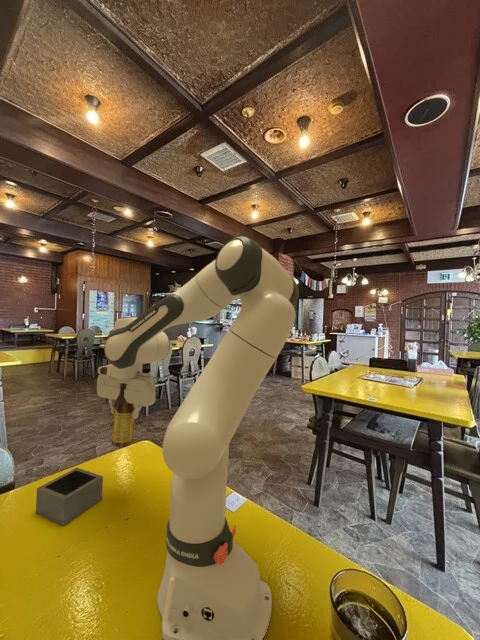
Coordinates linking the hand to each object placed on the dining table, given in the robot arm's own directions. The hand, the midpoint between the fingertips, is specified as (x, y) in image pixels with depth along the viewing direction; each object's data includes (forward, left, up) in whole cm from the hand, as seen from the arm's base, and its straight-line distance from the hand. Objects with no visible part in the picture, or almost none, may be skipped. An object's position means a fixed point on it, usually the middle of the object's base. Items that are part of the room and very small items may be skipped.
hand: (124, 415), depth 85 cm
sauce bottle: (0, 0, -9) cm, 9 cm away
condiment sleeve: (+9, +10, -24) cm, 28 cm away
